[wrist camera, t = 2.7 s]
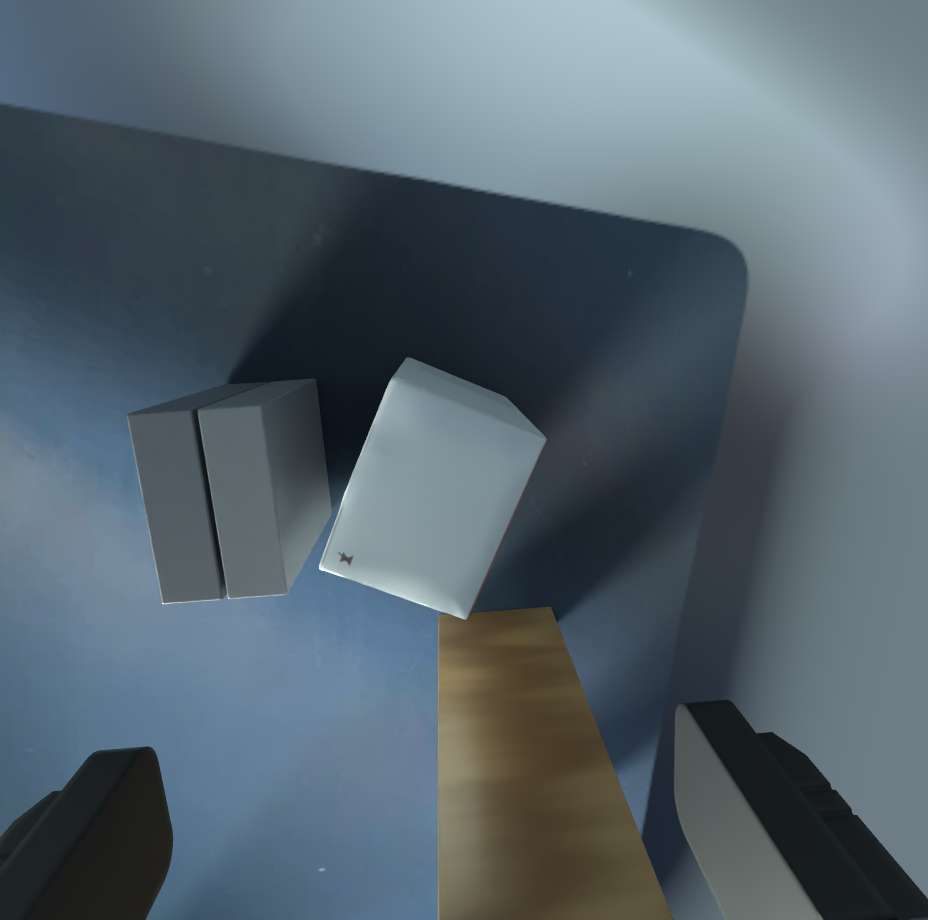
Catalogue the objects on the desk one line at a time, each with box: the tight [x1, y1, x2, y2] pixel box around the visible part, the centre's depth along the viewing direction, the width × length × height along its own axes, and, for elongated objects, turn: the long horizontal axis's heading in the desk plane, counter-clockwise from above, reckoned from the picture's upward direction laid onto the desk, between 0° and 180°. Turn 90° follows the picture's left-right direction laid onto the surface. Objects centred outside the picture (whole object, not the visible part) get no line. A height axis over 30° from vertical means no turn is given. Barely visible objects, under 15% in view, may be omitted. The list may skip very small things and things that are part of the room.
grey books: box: [127, 379, 332, 604], centre depth 30 cm, size 5×8×11 cm, turn 4°
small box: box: [319, 357, 547, 620], centre depth 29 cm, size 8×6×13 cm
